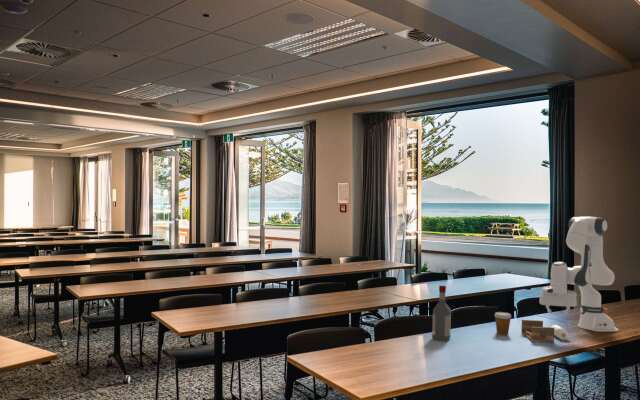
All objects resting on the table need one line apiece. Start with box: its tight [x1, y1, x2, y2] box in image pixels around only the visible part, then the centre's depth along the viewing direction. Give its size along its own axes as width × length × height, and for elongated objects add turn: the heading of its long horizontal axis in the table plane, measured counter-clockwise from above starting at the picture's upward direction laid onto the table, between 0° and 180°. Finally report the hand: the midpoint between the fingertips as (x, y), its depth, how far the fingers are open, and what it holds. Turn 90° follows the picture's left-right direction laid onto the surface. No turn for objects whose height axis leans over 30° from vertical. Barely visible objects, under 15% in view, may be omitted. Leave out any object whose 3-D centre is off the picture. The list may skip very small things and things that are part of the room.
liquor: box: [431, 285, 452, 342], centre depth 279 cm, size 9×9×30 cm
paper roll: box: [550, 324, 570, 341], centre depth 289 cm, size 13×6×6 cm, turn 176°
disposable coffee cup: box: [494, 311, 512, 336], centre depth 294 cm, size 10×10×12 cm
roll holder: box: [521, 319, 555, 344], centre depth 286 cm, size 20×12×8 cm, turn 176°
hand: (557, 313), depth 289 cm, fingers open, 8 cm apart
